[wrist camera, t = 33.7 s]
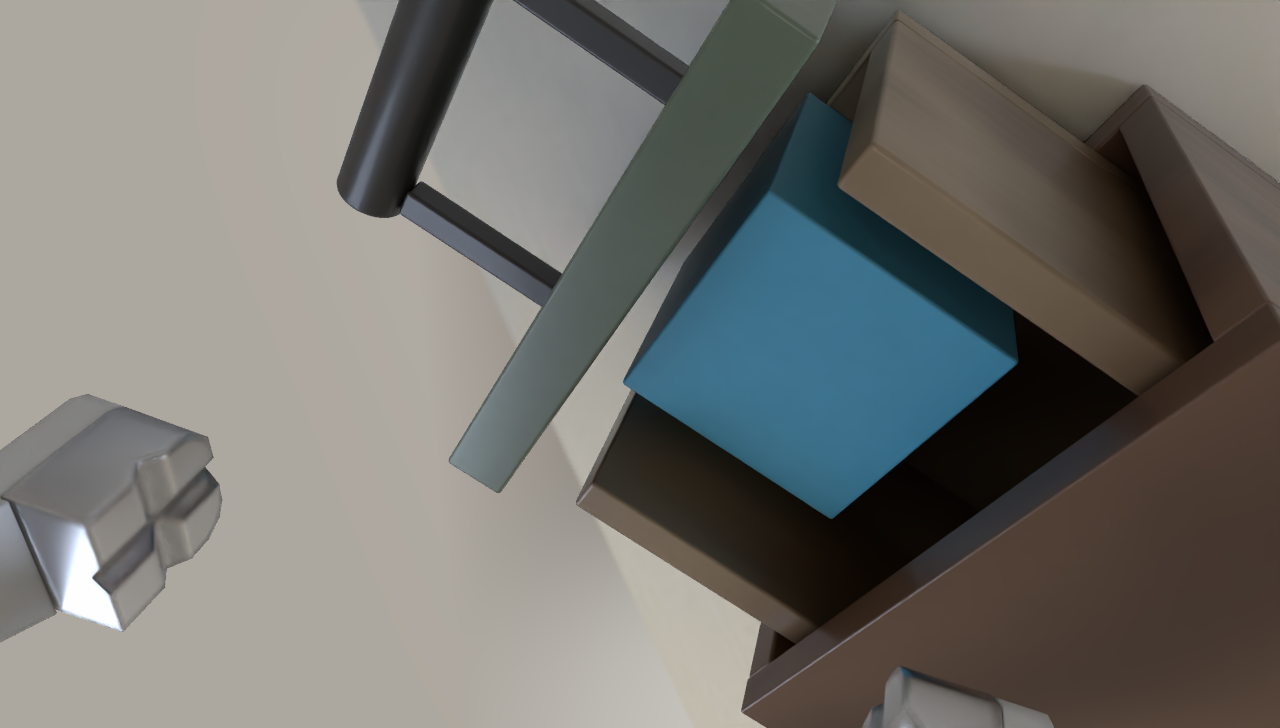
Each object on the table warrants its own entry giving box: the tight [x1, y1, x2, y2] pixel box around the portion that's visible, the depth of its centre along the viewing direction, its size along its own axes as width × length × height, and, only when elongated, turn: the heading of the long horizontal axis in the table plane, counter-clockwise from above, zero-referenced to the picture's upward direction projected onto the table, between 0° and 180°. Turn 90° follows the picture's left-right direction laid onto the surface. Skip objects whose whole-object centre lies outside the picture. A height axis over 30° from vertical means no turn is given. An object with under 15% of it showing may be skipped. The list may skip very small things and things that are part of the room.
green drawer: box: [337, 0, 1214, 644], centre depth 17 cm, size 18×10×8 cm, turn 60°
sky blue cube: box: [623, 93, 1018, 519], centre depth 17 cm, size 5×5×5 cm
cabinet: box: [741, 85, 1280, 728], centre depth 18 cm, size 15×12×10 cm
